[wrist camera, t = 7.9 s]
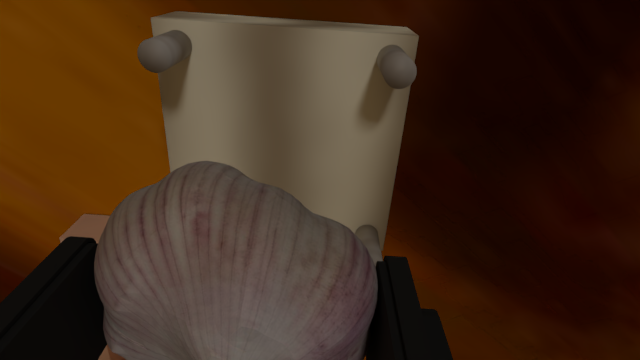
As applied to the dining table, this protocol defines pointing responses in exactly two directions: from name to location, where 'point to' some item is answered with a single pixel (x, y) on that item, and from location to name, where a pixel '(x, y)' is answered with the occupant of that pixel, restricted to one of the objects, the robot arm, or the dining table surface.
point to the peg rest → (290, 106)
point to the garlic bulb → (231, 274)
